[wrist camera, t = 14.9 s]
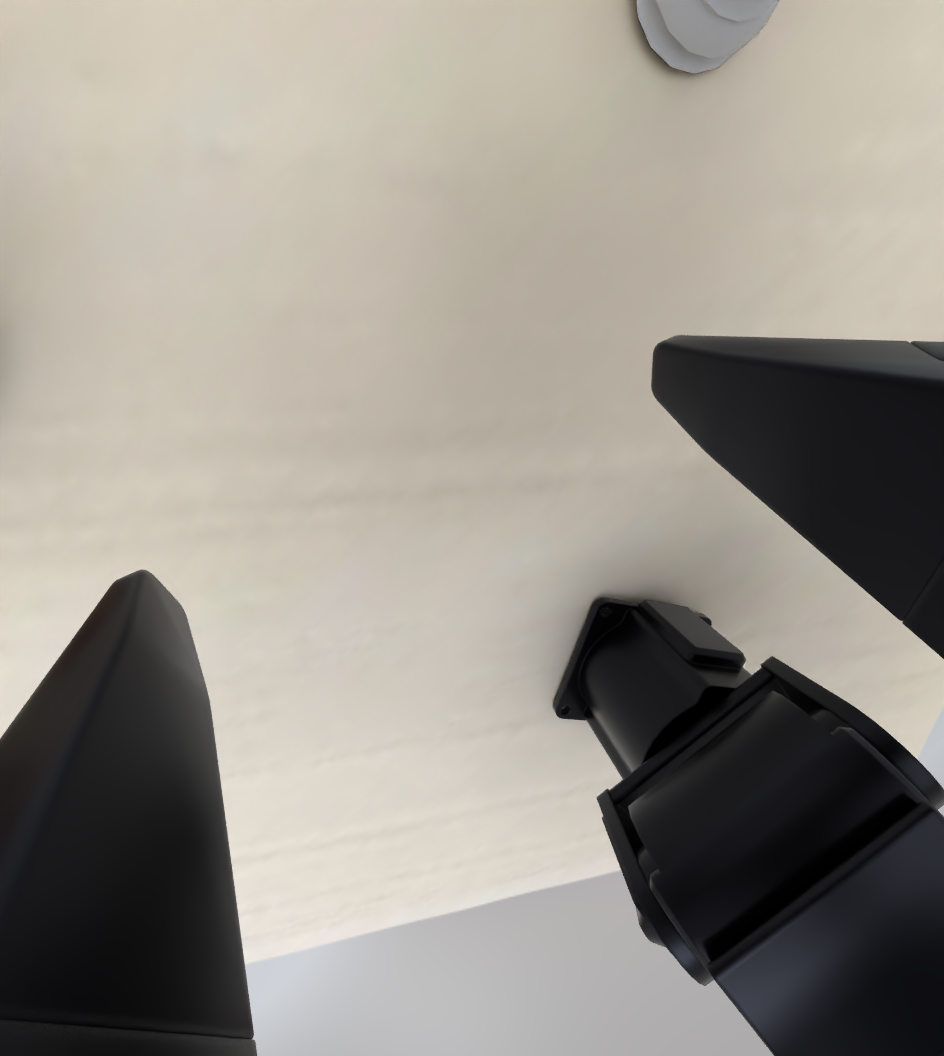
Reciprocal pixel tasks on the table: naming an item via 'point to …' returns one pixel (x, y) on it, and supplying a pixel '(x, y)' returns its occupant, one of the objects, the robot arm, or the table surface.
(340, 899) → the table surface
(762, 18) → the rook chess piece
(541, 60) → the table surface
